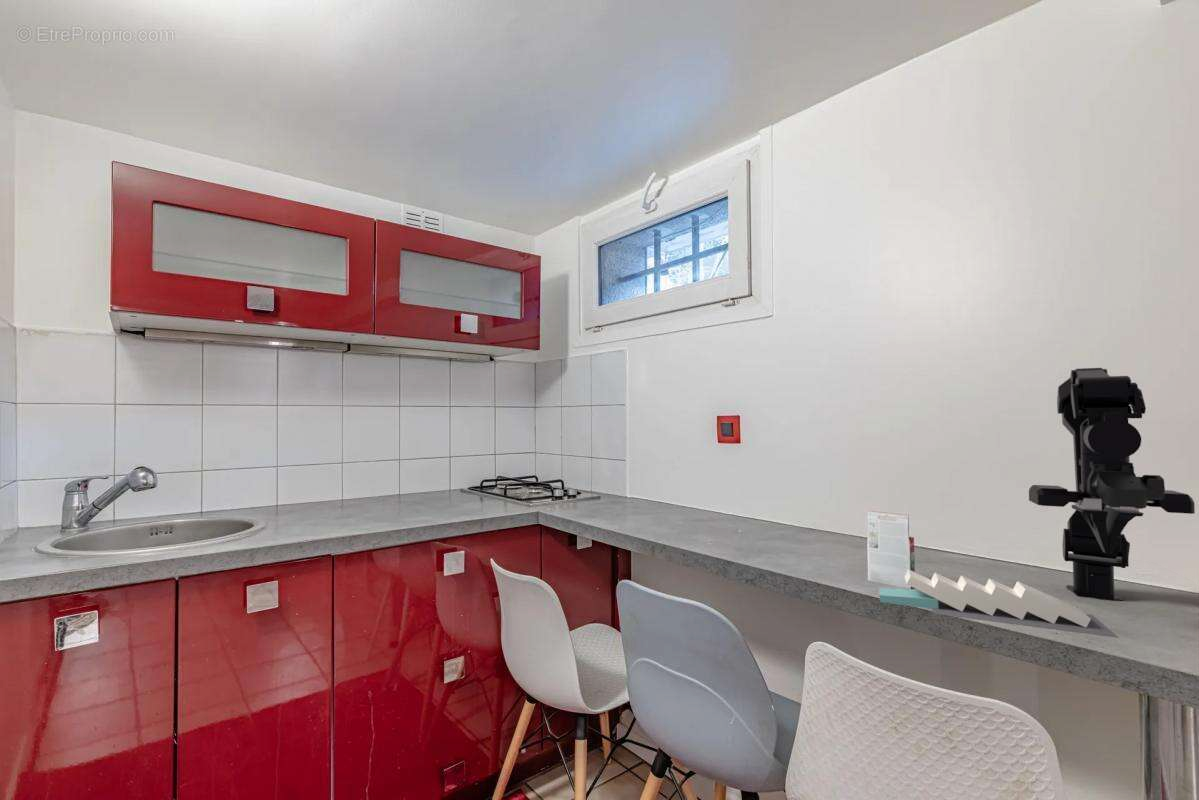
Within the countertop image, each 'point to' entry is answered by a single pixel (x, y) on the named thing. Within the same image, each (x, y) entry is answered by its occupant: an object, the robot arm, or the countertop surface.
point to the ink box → (889, 549)
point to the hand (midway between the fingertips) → (1107, 552)
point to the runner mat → (1026, 620)
